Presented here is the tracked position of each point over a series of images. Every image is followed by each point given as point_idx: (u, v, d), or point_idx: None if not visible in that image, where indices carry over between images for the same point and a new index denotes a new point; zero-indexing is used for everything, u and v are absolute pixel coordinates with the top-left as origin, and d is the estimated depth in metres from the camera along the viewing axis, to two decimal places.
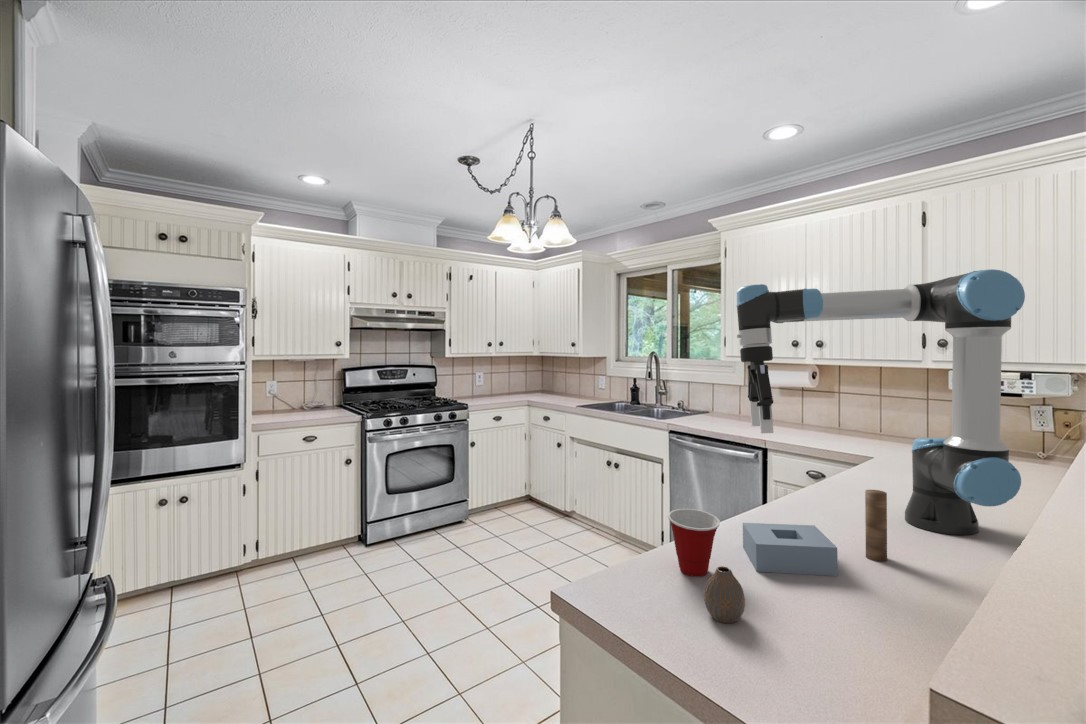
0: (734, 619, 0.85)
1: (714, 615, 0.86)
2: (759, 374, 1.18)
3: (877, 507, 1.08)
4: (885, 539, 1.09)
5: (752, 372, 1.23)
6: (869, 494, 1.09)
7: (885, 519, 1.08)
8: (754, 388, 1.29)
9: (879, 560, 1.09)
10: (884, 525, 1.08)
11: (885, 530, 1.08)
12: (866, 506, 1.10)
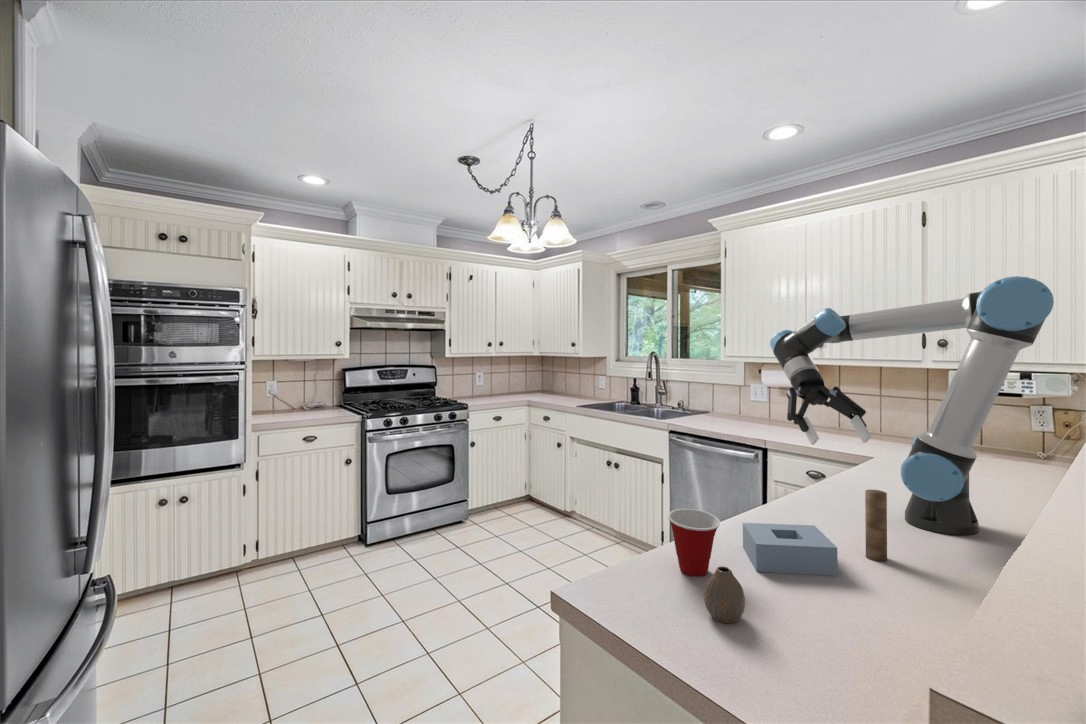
0: (734, 619, 0.85)
1: (714, 615, 0.86)
2: (789, 398, 1.30)
3: (877, 507, 1.08)
4: (885, 539, 1.09)
5: None
6: (869, 494, 1.09)
7: (885, 519, 1.08)
8: (837, 408, 1.28)
9: (879, 560, 1.09)
10: (884, 525, 1.08)
11: (885, 530, 1.08)
12: (866, 506, 1.10)
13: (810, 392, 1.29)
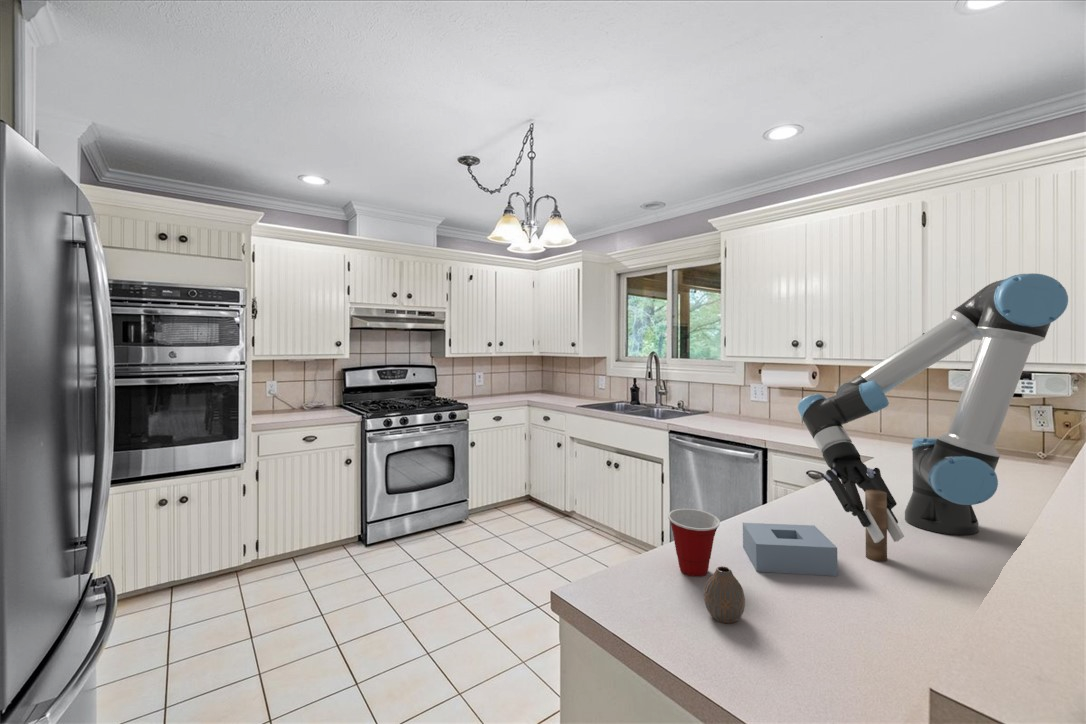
0: (734, 619, 0.85)
1: (714, 615, 0.86)
2: (830, 482, 1.17)
3: (877, 507, 1.08)
4: (885, 539, 1.09)
5: None
6: (869, 494, 1.09)
7: (885, 519, 1.08)
8: None
9: (879, 560, 1.09)
10: (884, 525, 1.08)
11: (885, 530, 1.08)
12: (866, 506, 1.10)
13: (849, 471, 1.16)
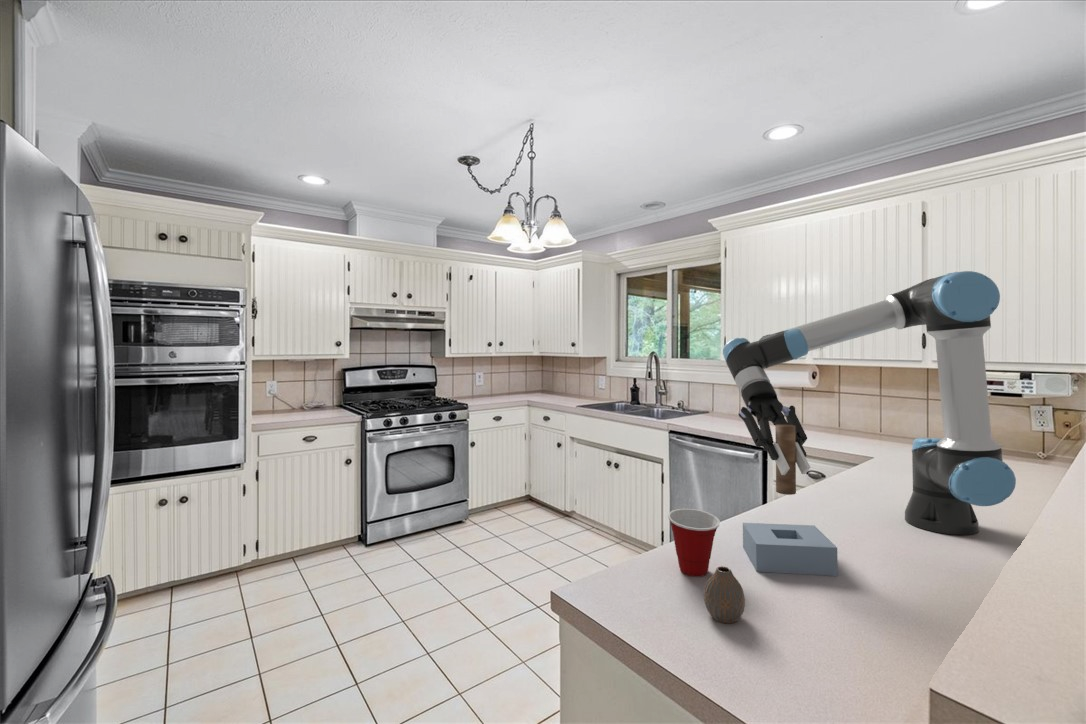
0: (734, 619, 0.85)
1: (714, 615, 0.86)
2: (744, 420, 1.16)
3: (785, 440, 1.08)
4: (793, 472, 1.08)
5: None
6: (778, 427, 1.09)
7: (793, 452, 1.08)
8: None
9: (787, 493, 1.08)
10: (792, 457, 1.08)
11: (793, 463, 1.08)
12: (776, 440, 1.10)
13: (763, 408, 1.15)
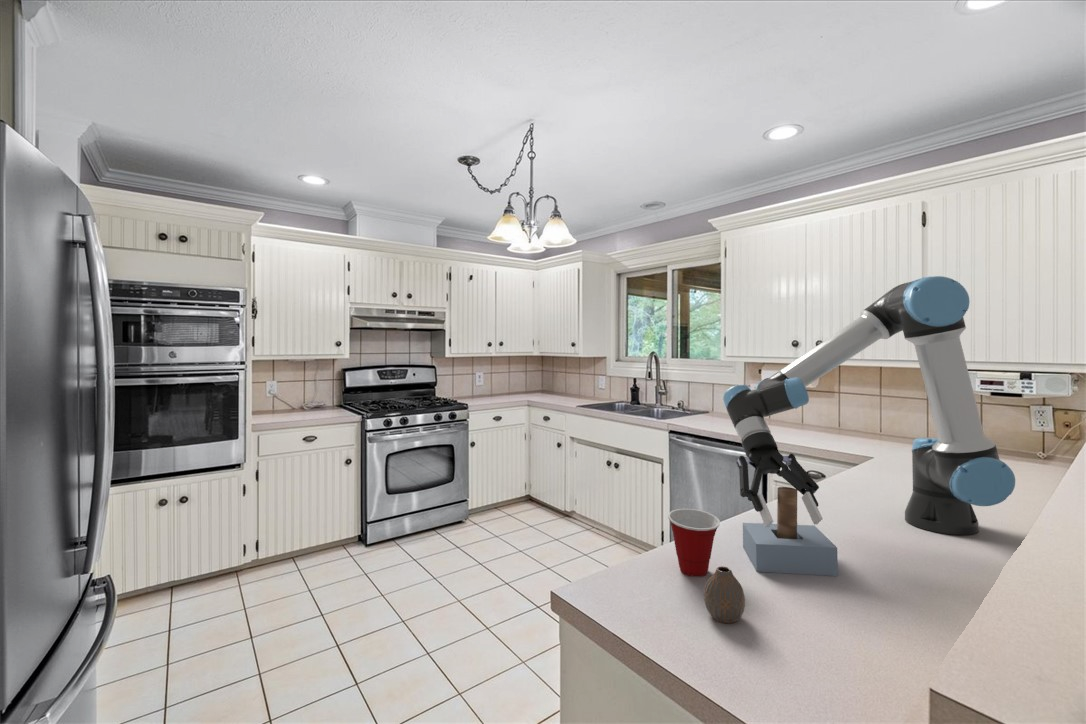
0: (734, 619, 0.85)
1: (714, 615, 0.86)
2: (739, 468, 1.17)
3: (787, 504, 1.08)
4: (794, 536, 1.08)
5: None
6: (780, 491, 1.10)
7: (795, 516, 1.08)
8: (789, 479, 1.15)
9: None
10: (794, 522, 1.08)
11: (795, 527, 1.08)
12: (778, 503, 1.11)
13: (761, 460, 1.16)
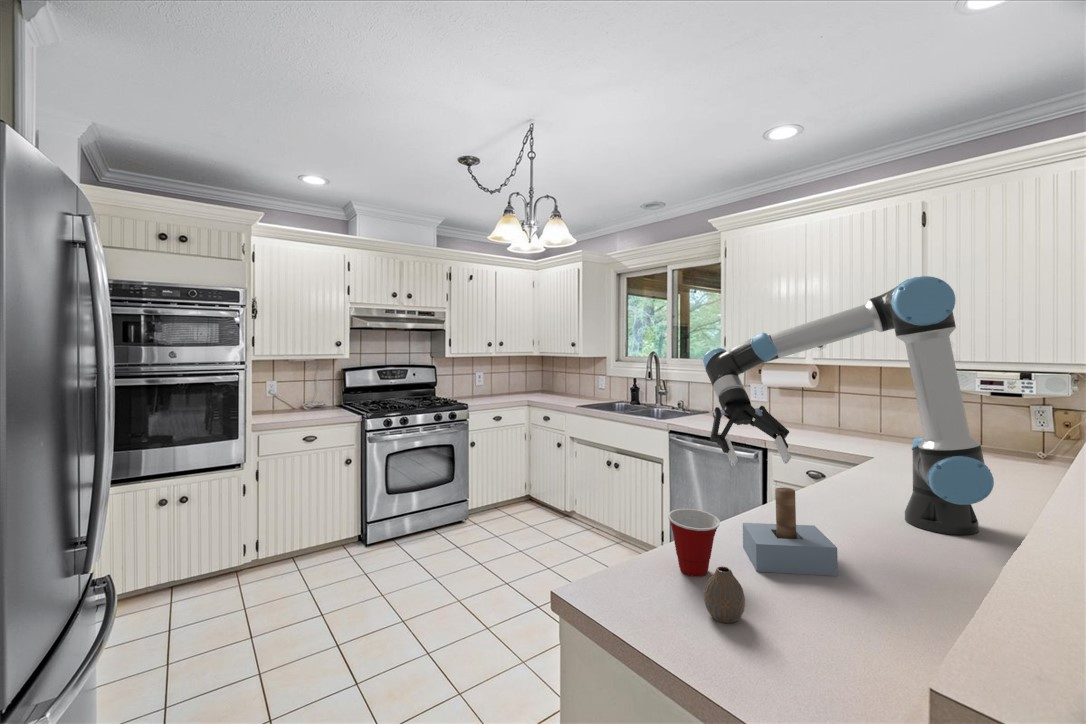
0: (734, 619, 0.85)
1: (714, 615, 0.86)
2: (714, 418, 1.30)
3: (785, 505, 1.08)
4: (794, 537, 1.08)
5: None
6: (778, 492, 1.09)
7: (793, 517, 1.08)
8: (761, 428, 1.28)
9: None
10: (792, 523, 1.08)
11: (793, 528, 1.08)
12: (776, 504, 1.10)
13: (735, 412, 1.28)
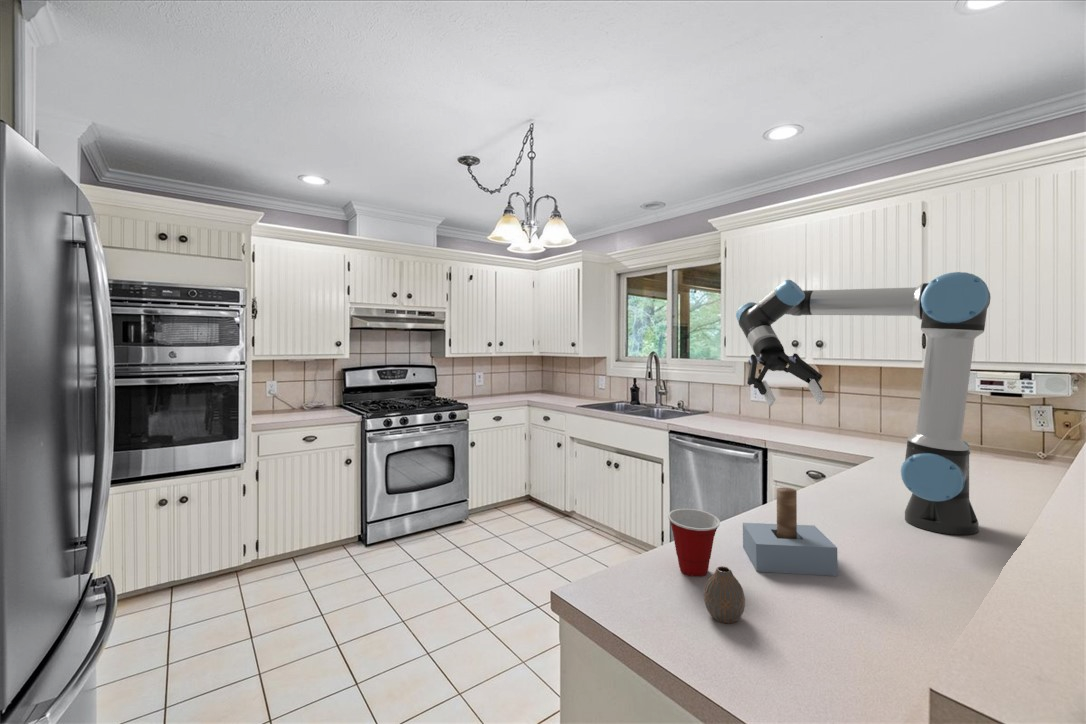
0: (734, 619, 0.85)
1: (714, 615, 0.86)
2: (750, 365, 1.37)
3: (786, 505, 1.08)
4: (794, 537, 1.08)
5: None
6: (779, 492, 1.09)
7: (794, 517, 1.08)
8: (795, 373, 1.35)
9: None
10: (793, 523, 1.08)
11: (794, 528, 1.08)
12: (777, 504, 1.10)
13: (770, 358, 1.35)
